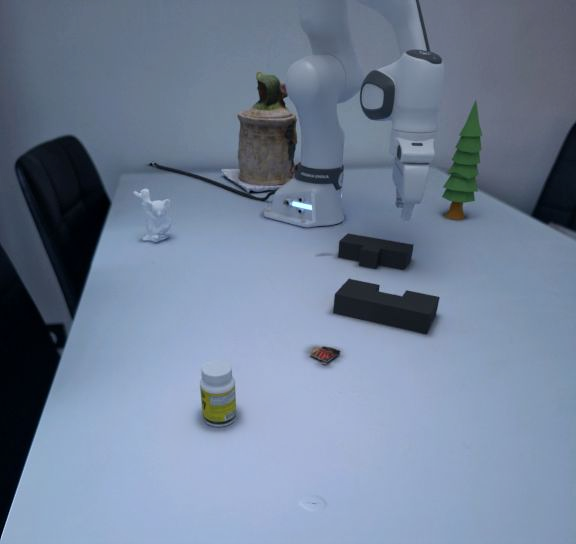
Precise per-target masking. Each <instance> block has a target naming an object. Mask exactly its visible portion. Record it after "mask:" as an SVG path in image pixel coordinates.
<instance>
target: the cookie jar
mask: <svg viewBox="0 0 576 544" xmlns="http://www.w3.org/2000/svg"><path fill="white" fill-rule="evenodd" d="M255 75H256V77H255V79H256V81H257V82H256V83H257V87H256V90H257V92H258V98H259V99H258V100H257V101H256V102H255V103H254V104H253V105H252V106H250V107H249V108H248V109H246V110H240V111H239V112H237V114H236V115H237V120H238V122H239V126H240V127H239V132H238V146H237V147H238V149H237V161H238V168H222V169H221V172H222V174H223V175H222V176H223V178H225V177H226V178H227V179H228V180H230V181H231V182H233V183H234V184H236V185H238V186H239V187H240V188H242V189H243V190H244V191H245V192H246V193H248V194H250V191H253V192H258V193H261V192H265V191H275V189H278V188H280V187H282V186H283V185H284V184H285V183H287V182H288V181H289V180H291V179H292V178H293V177H294V172H292V170H293V169H292V168H293V167H294V166H295V165H296V164H295V160H294V158H295V155H296V154H295V153H296V149H297V144H298V133H297V129H296V128H297V121H298V119H297V116H296V113H294V112H292V111H291V110H290V109H289V108H288V107H287V106H286V102H285V100H284V99H286V98H289V97H288V94H287V92H286V86H285V82H281V81H280V78H279V77H278V76H276V75H274V74H266V73H264V72H262V71H261V70H258V71H256V74H255Z"/></svg>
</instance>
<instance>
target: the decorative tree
mask: <svg viewBox="0 0 576 544" xmlns="http://www.w3.org/2000/svg"><path fill="white" fill-rule="evenodd" d="M477 103H478V102H477V99H475V100H474V103H473V104H472V106H471V107H472V108H471V109H470V112H469V115H468V116H467V119H466V121H465V123H464V125H463V127H462V129H461V130H460V132H459V134H458V136H459V139H458V142H457V143H456V145H455V146H454V148H455V149H456V151H455V153H454V154H453V156H452V158H451V161H452V162H453V163H452V164H451V167H450V168H449V169H448V171H447V173H446V174H447V175H450V176H449V177H448V179H447V180H446V182H445V183H444V184H443V186H442V188H444V189H445V190H444V191H443V193H442V195H441V198H443V199H445V200H446V201H449V202H450V205H449V208H448V210H447V211H446V213H445V214H444V217H445V218H446V219H449V220H450V219H451V220H456V221H460V220H463V219H465V218H467V217H466V215H465V213H464V210H463V209H464V208H463V205H464V204H465V203H470V202H471V203H472V202H475V201H476V197H475V192H477V193H478V192H479V188H478V183H477V179H476V177H477V176H478V175H479V168H478V164H479V165H480V164H481V157H480V152H481V151H482V140H481V137H483V131H482V128H481V125H480V119H479V113H478V112H479V111H478V104H477Z"/></svg>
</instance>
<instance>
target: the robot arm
mask: <svg viewBox="0 0 576 544" xmlns="http://www.w3.org/2000/svg"><path fill="white" fill-rule="evenodd" d="M356 1H357V3H360V4H361V5H362V6H365V7H367V8H369V9H371V10H372V11H375V12H376V13H377V14H379V15H381V16H382V17H383V18H385V20H387V22H388V23H389V24H390V26H391V27H392V29H393V31H394V34H395V38H396V42H397V46H398V50H399V55H400V58H398V59H397V60H396V61H394V62H392V63H389V64H388V65H385V66H383V67H379V68H376V69H373V70H371V71H370V72H368V73H367V74H366V76H365V71H364V67H363V65H362V64H361V62H360V61H359V59H358V57H357V54H356V51H355V48H354V44H353V38H352V34H351V30H350V23H349V13H348V12H349V10H348V8H349V7H348V0H298V12H299V13H298V14H299V24H300V27H301V29H302V32H304V34H305V35H306V37H307V38H308V42H309V44H310V45H309V46H310V48H311V52H312V54H309V55H307V56H303V57H302V58H300V59H297V60H296V61H294V62H293V63H292V64H291V65H290V66H289V67H288V70H287V72H286V75H285V79H284V80H285V81H284V84H285V86H286V92H287V94H288V97H287V98H288V99H289V100H290V101H291V102H292V104H293V105H294V107H295V109H296V113H297V117H298V121H299V122H298V123H299V126H300V140H301V141H300V161H299V162H297V164H294V165H295V166H294V167H293V168H292V169H293V170H292V172H294V177H293V178H292V179H291V180H289V181H288V182H287V183H285V184H284V185H283V186H282V187H280V188H278V189H275V190H270V191H269V192H268V193H267V194H266V195H265V196H264V197H258V196H255V195H252V194H250V193H248V192H246V191H245V192H244V191H242V190H239V189H237V188H234V187H232V186H229V185H227V184H224V183H221V182H219V181H217V180H214V179H210V178H208V177H205V176H202V175H199V174H195V173H192V172H189V171H185V170H181V169H177V168H174V167H169V166H164V165H161V164H158V163H157V162H155V163H154V164H152V163H151V162H149V164H148V166H150V167H152V166H155V167H156V168H158V169H163V170H166V171H170V172H175V173H178V174H181V175H186V176H189V177H192V178H196V179H199V180H202V181H205V182H208V183H210V184H212V185H216V186H219V187H221V188H224V189H225V190H228V191H231V192H233V193H236V194H238V195H241V196H244V197H247V198H250V199H252V200H255V201H259V202H264V201H268V199H270V197H272V196H273V198H272V202H271V205H269V206H268V207H266V208H265V209H264V211H263V217H264V218H267V219H270V220H274V221H279V222H282V223H286V224H291V225H294V226H298V227H302V228H314V227H324V226H325V227H326V226H333V225H337V224H340V223H342V222H343V221H344V220H345V215H344V209H343V199H342V198H343V195H342V188H343V185H344V177H345V173H344V169H345V166H344V163H343V162H344V149H345V148H344V147H345V137H346V136H345V131H344V129H343V128H342V126H341V125H340V121H339V116H338V108H337V107H338V105H339V104H343V103H346V102H348V101H349V100H351V99H352V98H354V97H355V96H356V95H358V94H359V104H360V108H361V111H362V112H363V114H364V115H365V117H366V118H367V119H368V120H371V121H375V122H388V121H391V122H392V125H391V130H390V131H391V132H390V140H389V148H388V153H389V154H390V155H391V156H394V159H393V166H392V172H391V173H392V174H391V177H392V179H391V180H392V181H393V184H394V186H395V203H394V204H395V207H396V208H397V209H399V208H400V209H402V210H401V215H400V218H401V220H402V221H403V222H410V221H411V219H412V212H413V211H414V208H415V205H419V204H421V203H422V201H423V198H424V195H425V192H426V187H427V183H428V179H429V174H430V167H431V166H430V165H431V164H433V163H434V161H435V156H436V151H435V143H436V135H437V130H438V126H437V125H438V124H437V117H438V113H439V110H440V108H441V104H442V100H443V99H442V98H443V92H444V83H445V64H444V60H443V58H442V57H441V56H440V55H439V54H437V53H436V52H433V51H431V48H430V42H429V39H428V34H427V30H426V29H427V28H426V24H425V21H424V16H423V12H422V8H421V3H420V0H356Z"/></svg>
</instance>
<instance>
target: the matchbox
mask: <svg viewBox="0 0 576 544" xmlns="http://www.w3.org/2000/svg"><path fill="white" fill-rule="evenodd" d="M339 354H341V350H339V349H337V348H334V347H332V346H331V347H330V346H325V345H322V346H314V347H312V348H311V350H310V353H309V355H310V356H312V357H314V358H317V359H318V360H322V361H321V364H322V365H327V366H328V362H330V361H331V360H333V359H335V358H336V357H337V356H338V355H339Z"/></svg>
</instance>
